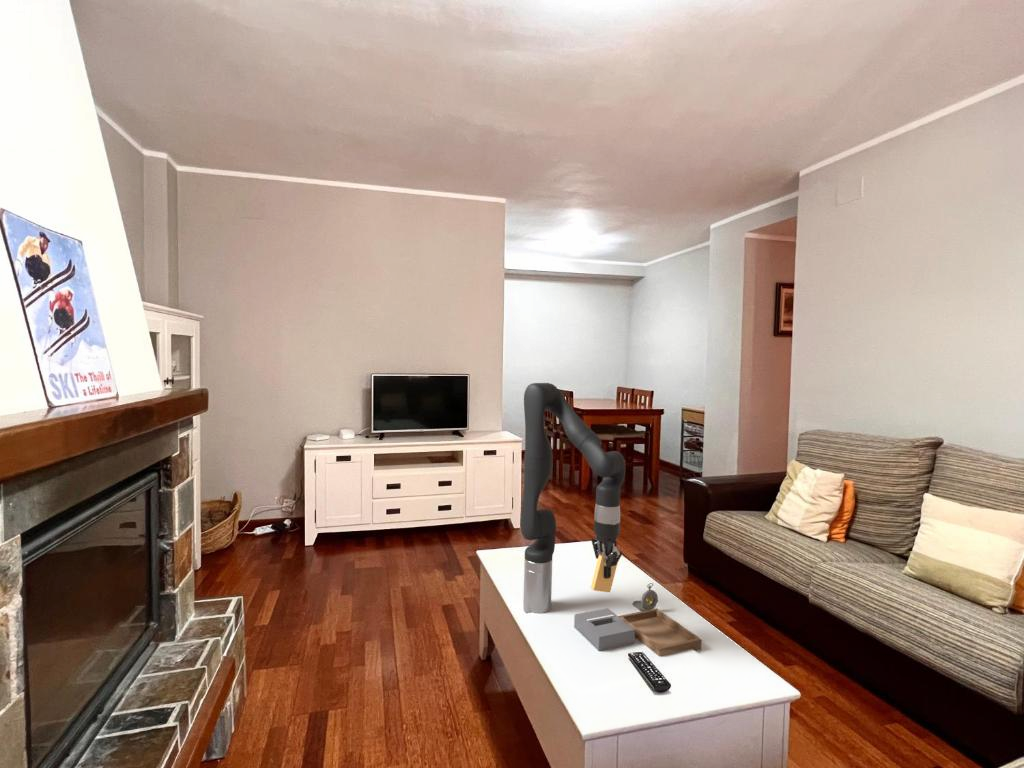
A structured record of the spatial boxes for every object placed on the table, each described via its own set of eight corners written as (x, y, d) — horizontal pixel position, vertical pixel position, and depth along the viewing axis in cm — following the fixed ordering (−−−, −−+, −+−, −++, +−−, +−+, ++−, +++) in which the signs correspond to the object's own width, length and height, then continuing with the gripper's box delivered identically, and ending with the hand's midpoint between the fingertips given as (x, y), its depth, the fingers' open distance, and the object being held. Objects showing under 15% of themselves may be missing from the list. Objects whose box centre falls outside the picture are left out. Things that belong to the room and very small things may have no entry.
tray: (617, 625, 159) (618, 616, 159) (656, 617, 165) (657, 608, 165) (659, 659, 141) (659, 649, 141) (701, 649, 147) (701, 639, 146)
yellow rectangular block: (590, 588, 150) (599, 554, 151) (607, 590, 152) (615, 557, 153) (593, 590, 149) (601, 556, 149) (610, 592, 151) (618, 559, 152)
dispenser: (574, 630, 156) (574, 613, 155) (607, 623, 160) (607, 606, 160) (598, 654, 143) (599, 635, 143) (634, 646, 147) (634, 628, 147)
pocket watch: (635, 601, 176) (636, 573, 176) (659, 608, 172) (660, 578, 171) (627, 611, 169) (628, 581, 169) (653, 618, 165) (654, 587, 164)
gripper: (584, 513, 155) (582, 569, 156) (609, 527, 143) (607, 588, 143) (605, 511, 158) (603, 566, 159) (631, 524, 145) (629, 584, 146)
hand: (605, 576), depth 151 cm, fingers closed on yellow rectangular block, 1 cm apart
